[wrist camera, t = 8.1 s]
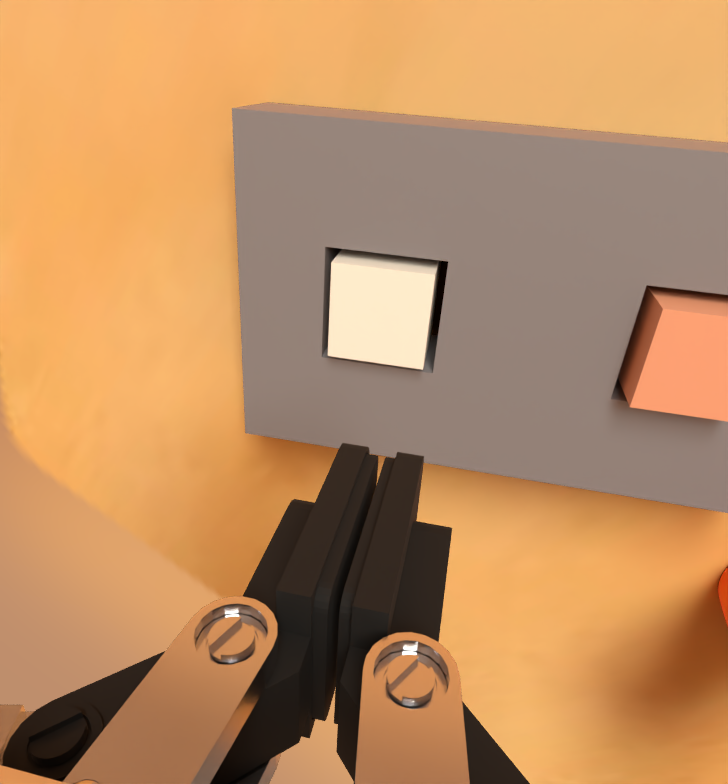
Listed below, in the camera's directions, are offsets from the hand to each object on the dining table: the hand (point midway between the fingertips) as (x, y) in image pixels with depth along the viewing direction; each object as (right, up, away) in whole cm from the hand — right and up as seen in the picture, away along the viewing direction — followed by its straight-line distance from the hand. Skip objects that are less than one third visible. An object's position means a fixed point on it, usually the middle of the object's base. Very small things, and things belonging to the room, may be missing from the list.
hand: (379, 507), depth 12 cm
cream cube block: (+1, +7, +15) cm, 17 cm away
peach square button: (+13, +5, +13) cm, 19 cm away
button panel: (+7, +7, +14) cm, 17 cm away
